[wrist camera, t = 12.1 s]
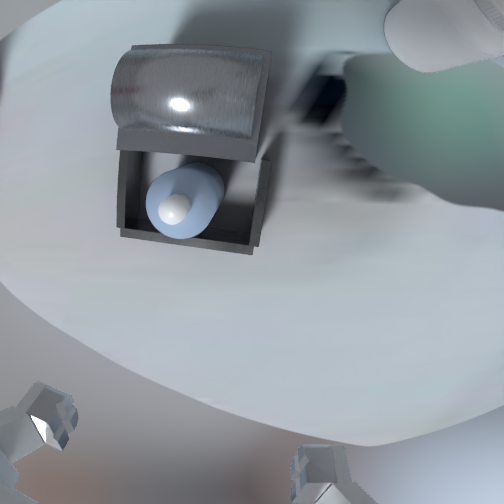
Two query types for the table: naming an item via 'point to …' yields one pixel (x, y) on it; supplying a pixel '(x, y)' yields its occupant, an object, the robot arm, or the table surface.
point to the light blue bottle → (184, 200)
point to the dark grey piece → (189, 124)
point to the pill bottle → (445, 32)
